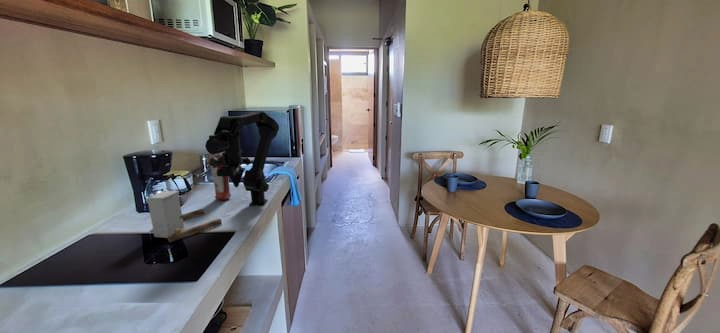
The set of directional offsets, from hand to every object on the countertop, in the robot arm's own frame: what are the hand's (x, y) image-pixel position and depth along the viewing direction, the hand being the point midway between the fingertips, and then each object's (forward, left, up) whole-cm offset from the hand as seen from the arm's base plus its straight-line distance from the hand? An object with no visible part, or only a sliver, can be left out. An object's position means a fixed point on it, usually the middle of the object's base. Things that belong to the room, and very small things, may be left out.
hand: (236, 186), depth 123 cm
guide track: (+11, -15, -12) cm, 22 cm away
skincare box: (+16, -19, -12) cm, 28 cm away
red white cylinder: (-17, -14, -12) cm, 25 cm away
